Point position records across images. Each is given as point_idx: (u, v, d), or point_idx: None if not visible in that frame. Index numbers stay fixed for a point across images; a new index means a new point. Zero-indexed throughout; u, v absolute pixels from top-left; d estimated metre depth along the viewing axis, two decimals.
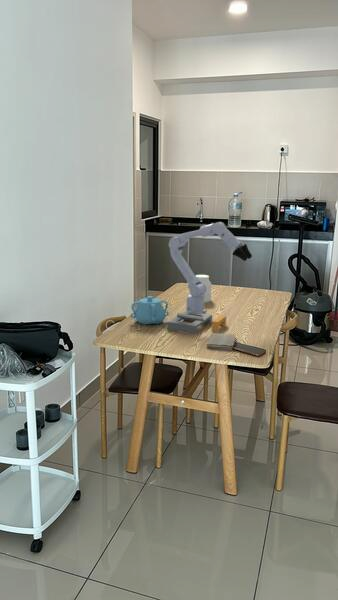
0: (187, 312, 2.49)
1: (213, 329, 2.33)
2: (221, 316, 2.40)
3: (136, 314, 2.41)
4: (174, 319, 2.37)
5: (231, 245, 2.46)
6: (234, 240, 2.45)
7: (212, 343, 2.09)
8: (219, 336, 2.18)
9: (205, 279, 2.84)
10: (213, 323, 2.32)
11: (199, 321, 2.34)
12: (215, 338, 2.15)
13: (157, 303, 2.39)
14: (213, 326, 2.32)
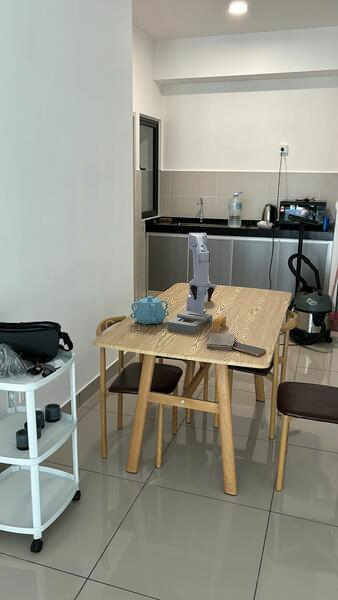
0: (187, 312, 2.49)
1: (213, 329, 2.33)
2: (221, 316, 2.40)
3: (136, 314, 2.41)
4: (174, 319, 2.37)
5: None
6: (197, 279, 2.44)
7: (212, 343, 2.09)
8: (219, 336, 2.18)
9: None
10: (213, 323, 2.32)
11: (199, 321, 2.34)
12: (215, 338, 2.15)
13: (157, 303, 2.39)
14: (213, 326, 2.32)
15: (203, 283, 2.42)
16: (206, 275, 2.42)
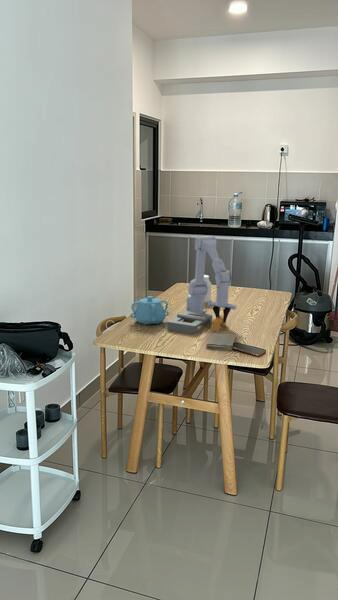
0: (187, 312, 2.49)
1: (213, 329, 2.33)
2: (221, 316, 2.40)
3: (136, 314, 2.41)
4: (174, 319, 2.37)
5: None
6: (217, 299, 2.36)
7: (212, 343, 2.09)
8: (219, 336, 2.18)
9: (205, 279, 2.84)
10: (213, 323, 2.32)
11: (199, 321, 2.34)
12: (215, 338, 2.15)
13: (157, 303, 2.39)
14: (213, 326, 2.32)
15: (222, 304, 2.35)
16: (227, 295, 2.35)
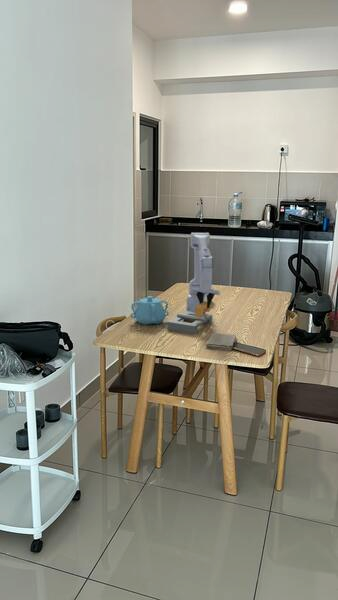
0: (187, 312, 2.49)
1: (197, 315, 2.32)
2: (205, 302, 2.40)
3: (136, 314, 2.41)
4: (174, 319, 2.37)
5: None
6: (200, 285, 2.36)
7: (211, 343, 2.09)
8: (219, 336, 2.18)
9: None
10: (197, 309, 2.32)
11: (199, 321, 2.34)
12: (215, 338, 2.15)
13: (157, 303, 2.39)
14: (197, 312, 2.32)
15: (206, 289, 2.34)
16: (209, 281, 2.34)
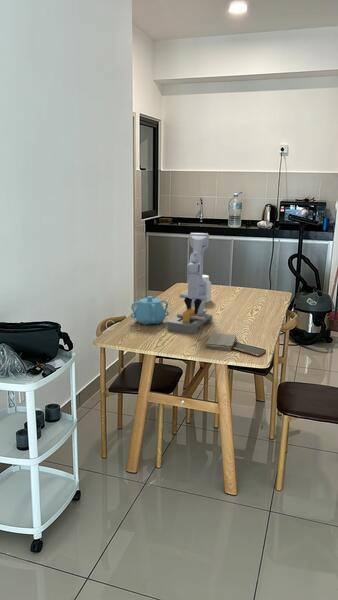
0: None
1: (184, 320, 2.34)
2: (193, 308, 2.42)
3: (136, 314, 2.41)
4: (174, 319, 2.37)
5: None
6: (188, 291, 2.38)
7: (211, 343, 2.09)
8: (219, 336, 2.18)
9: (205, 279, 2.84)
10: (184, 314, 2.33)
11: (199, 321, 2.34)
12: (215, 338, 2.15)
13: (157, 303, 2.39)
14: (184, 317, 2.34)
15: (193, 295, 2.36)
16: (195, 287, 2.35)
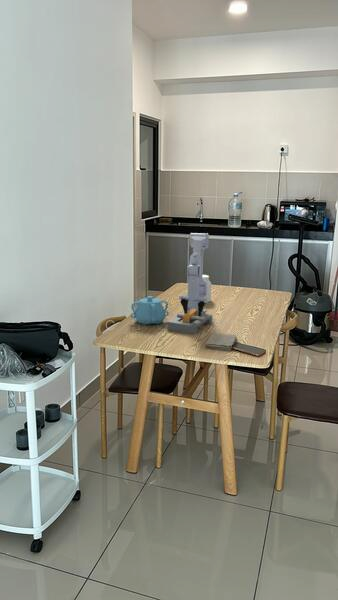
0: None
1: None
2: (192, 310, 2.42)
3: (136, 314, 2.41)
4: (174, 319, 2.37)
5: None
6: (188, 292, 2.38)
7: (211, 343, 2.09)
8: (219, 336, 2.18)
9: (205, 279, 2.84)
10: (183, 318, 2.34)
11: (199, 321, 2.34)
12: (215, 338, 2.15)
13: (157, 303, 2.39)
14: (184, 320, 2.34)
15: (193, 297, 2.36)
16: (195, 289, 2.36)
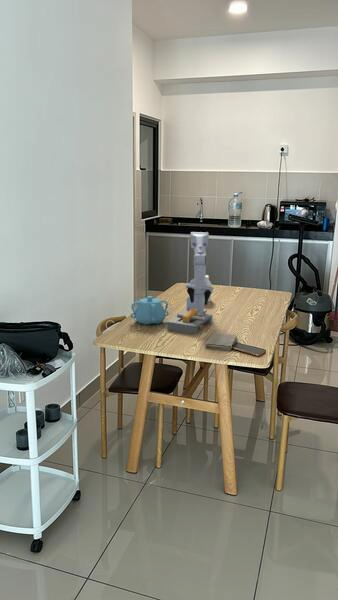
0: None
1: None
2: (192, 309, 2.42)
3: (136, 314, 2.41)
4: (174, 319, 2.37)
5: None
6: (194, 281, 2.41)
7: (211, 343, 2.09)
8: (219, 336, 2.18)
9: (205, 279, 2.84)
10: (183, 318, 2.34)
11: (199, 321, 2.34)
12: (215, 338, 2.16)
13: (157, 303, 2.39)
14: (184, 321, 2.34)
15: (200, 286, 2.39)
16: (202, 278, 2.39)
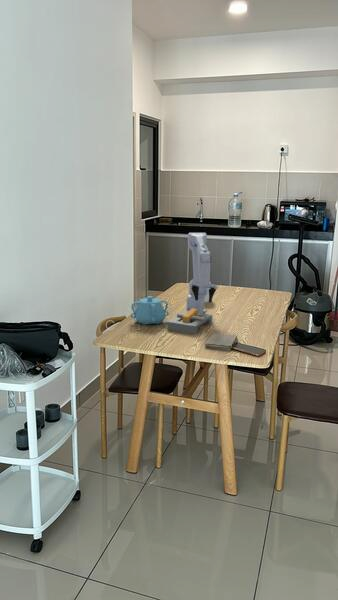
0: None
1: None
2: (192, 309, 2.42)
3: (136, 314, 2.41)
4: (174, 319, 2.37)
5: None
6: (199, 279, 2.43)
7: (210, 343, 2.10)
8: (220, 336, 2.18)
9: None
10: (183, 318, 2.34)
11: (199, 321, 2.34)
12: (215, 338, 2.16)
13: (157, 303, 2.39)
14: (184, 321, 2.34)
15: (204, 284, 2.42)
16: (208, 275, 2.42)
